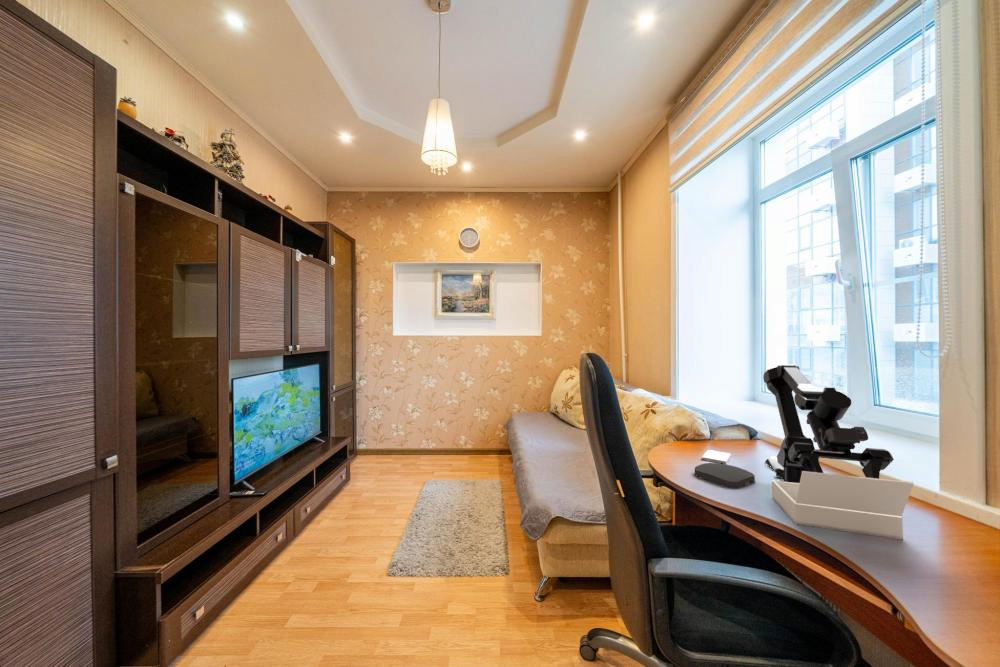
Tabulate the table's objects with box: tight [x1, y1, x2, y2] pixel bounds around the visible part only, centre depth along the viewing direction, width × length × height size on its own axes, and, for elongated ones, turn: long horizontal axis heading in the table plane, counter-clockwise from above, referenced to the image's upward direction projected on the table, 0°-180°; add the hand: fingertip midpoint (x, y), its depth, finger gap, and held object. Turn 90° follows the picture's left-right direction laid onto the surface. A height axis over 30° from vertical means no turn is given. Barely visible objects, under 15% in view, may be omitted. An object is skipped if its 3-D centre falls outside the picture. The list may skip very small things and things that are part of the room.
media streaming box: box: [694, 462, 756, 489], centre depth 118 cm, size 15×15×3 cm
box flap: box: [796, 471, 915, 517], centre depth 83 cm, size 1×20×10 cm, turn 69°
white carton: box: [771, 479, 904, 540], centre depth 92 cm, size 16×20×5 cm
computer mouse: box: [764, 455, 784, 479], centre depth 124 cm, size 10×18×4 cm, turn 164°
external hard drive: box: [700, 449, 732, 465], centre depth 138 cm, size 2×8×12 cm
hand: (851, 489), depth 82 cm, fingers open, 9 cm apart
